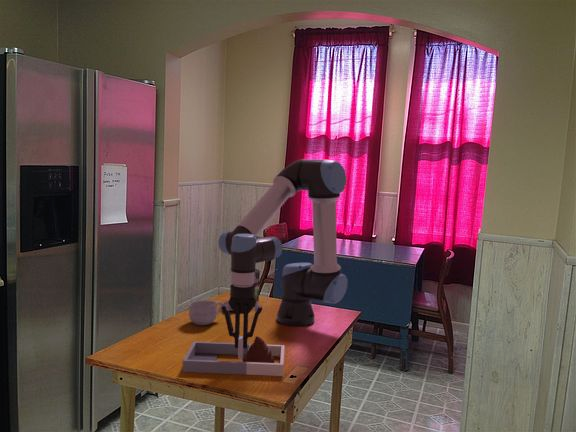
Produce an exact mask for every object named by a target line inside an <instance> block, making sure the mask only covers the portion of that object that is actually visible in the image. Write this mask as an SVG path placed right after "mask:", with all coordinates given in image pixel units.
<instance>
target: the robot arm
mask: <svg viewBox="0 0 576 432" xmlns="http://www.w3.org/2000/svg"><path fill="white" fill-rule="evenodd" d="M273 178H274V179H273V183H272V185H271V186H270V187H269V188H268V190H267V191H266V192H265V193H264V194H262V197H260V199H259V200H258V201H257V202H256V204H254V206H253V207H252V208H251V209H250V211H249V212H248V213H247V214H246V215H245V216H244V217H243V218H242V219H241V221H240V222H239V223H238V224H237V225H236V227H235V228H234V229H232V231H224V232H222V233H221V234H220V236H219V238H218V241H217V243H218V248H219V250H220V251H221V252H222V253H224V254H226V255H230V264H231V265H230V286H229V287H230V293H229V296H230V298H229V299H228V300H229V301H228V300H227V301H228V303H227V304H224V303H223V305H222V307H221V309H222V312H223V314H224V317H225V323H226V328H227V331H228V332H227V333H228V335H229V337H233V338H234V343H235V348H238V355H237V360H243V358H244V355H243V354H244V348H247V344H248V338H253V336H254V332H255V329H256V325H257V323H258V318H259V315H260V314H261V313H262V311H263V307H264V306H262V305H259V304H258V303H256V301H255V286H254V283H255V269H256V266H257V264H259V263H265V262H269V261H270V262H271V261H273V260H276V259H278V258H279V257H281V255H282V253H283V244H282V242H281V240H280V238H278V237H277V236H266V237H263V236H258V235H259V234H260V233H261V232H262V231H263V229H264V228H265V227H266V226H267V225H268V223H269V222H270V221H271V219H272V218H273V217H274V216H275V215H276V213H278V211H279V210H280V209H281V207H282V206H283V205H284V204H285V203H286V201H288V199H289V198H292V197H294V196H295V195H296V193H298V192H301V191H306V192H307V196H308V197H307V198H308V199H309V200H310V201H311V202H312V225H313V226H312V227H313V228H312V231H313V232H312V233H313V264H312V263H311V262H295V263H294V262H292V263H287V264H285V265H284V266H283V268H282V275H281V277H282V278H281V279H282V281H281V284H282V285H281V302H280V305H279V308H278V310H277V313H276V320H277V322H278V323H280V324H283V325H286V326H293V327H303V326H309V325H312V324H314V322H315V312H314V309H313V305H312V300H314V301H318V302H322V303H325V304H338V303H339V302H340V301H342V299H343V298H344V296H345V294H346V292H347V289H348V282H349V281H348V278H347V276H346V275H345V274H344V273H342V266H341V265H340V264H339V263H338V257H337V256H338V255H337V254H338V253H337V252H338V251H337V249H338V248H337V246H338V245H337V200H338V199H339V198H340V196H341V193H342V192H344V190H345V188H346V185H347V175H346V171H345V169H344V166H343V165H342V164H341V163H340V162H339V161H337V160H332V159H331V160H330V159H311V158H310V159H308V158H302V159H298V160H295V161H293V162H291V163H289V165H287V166H285V167H284V168H283V169H282V170H281V171H279V172H278V174H277V175H275V177H273ZM229 306H230V307H231V308H232V310H233V311H232V312H234V313H235V314H234V316H235V318H234V323H235V324H234V326H233V322H232V321H233V320H232V317H231V313H230V312H231V311H229V309H230V307H229ZM253 309H254V315H253V320H252V322H251V323H252V324H251V326H250V330H249V314H250V313H251V312H252V310H253ZM241 314H242V315H243V327H242V333H243V334H242V335H240V334H241V333H240V332H241V331H240V328H241V326H240V325H241Z"/></svg>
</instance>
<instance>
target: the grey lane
mask: <svg viewBox="0 0 576 432" xmlns="http://www.w3.org/2000/svg"><path fill="white" fill-rule="evenodd" d="M251 344H252V343H247V348H244V354H243V356H246V354H247V351H248V347H249V346H250V345H251ZM219 355H235V356H236V355H237V356H238V348H235V342H217V341H216V342H215V341H214V342H213V341H193V342H192V344H191V345H190V347H189V349H188V352H187V353H186V355H185V357H184V358H183V360H182V373H196V374H197V373H200V374H201V373H202V374H203V373H204V374H220V375H221V374H223V375H225V374H227V375H246V364H247V362H243V361H234V360H233V361H230V360H228V361H227V360H217V359H218V357H219ZM246 376H247V375H246Z"/></svg>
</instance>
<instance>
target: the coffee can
mask: <svg viewBox="0 0 576 432" xmlns="http://www.w3.org/2000/svg"><path fill="white" fill-rule="evenodd" d="M260 276H261V270H260V269H258V268H255V283H254V286H255V301H256V304H258V303H259V302H260V281H261V280H260Z"/></svg>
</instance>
